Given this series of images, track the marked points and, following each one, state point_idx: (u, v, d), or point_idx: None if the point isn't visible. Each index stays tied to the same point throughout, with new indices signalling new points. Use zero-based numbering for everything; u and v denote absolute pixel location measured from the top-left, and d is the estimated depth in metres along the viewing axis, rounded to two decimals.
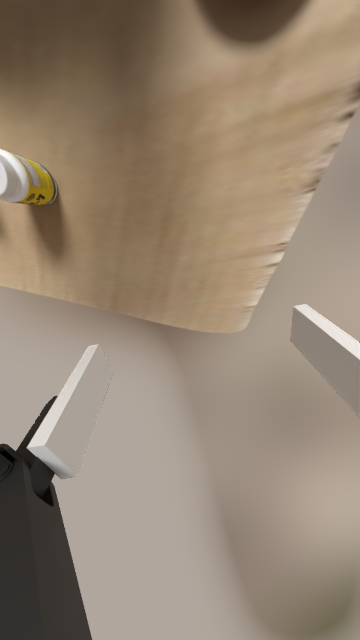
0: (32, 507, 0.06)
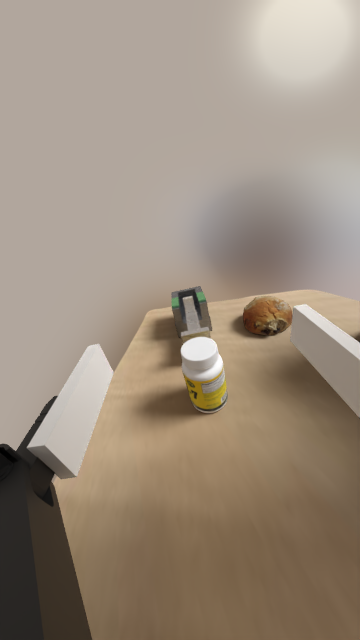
0: (32, 507, 0.06)
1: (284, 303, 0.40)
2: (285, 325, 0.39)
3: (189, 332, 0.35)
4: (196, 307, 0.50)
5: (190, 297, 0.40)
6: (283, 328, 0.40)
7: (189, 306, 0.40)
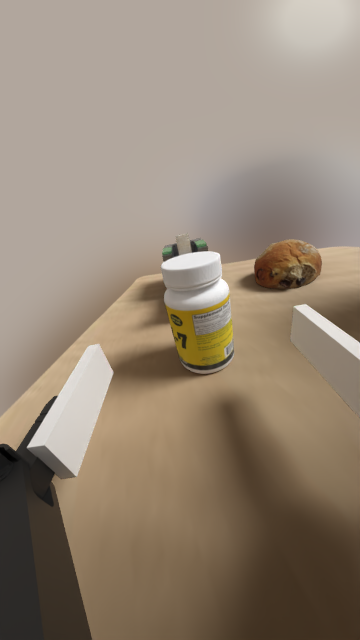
0: (32, 507, 0.06)
1: (311, 246, 0.30)
2: (312, 274, 0.29)
3: None
4: None
5: (185, 234, 0.30)
6: (309, 278, 0.29)
7: (184, 246, 0.30)
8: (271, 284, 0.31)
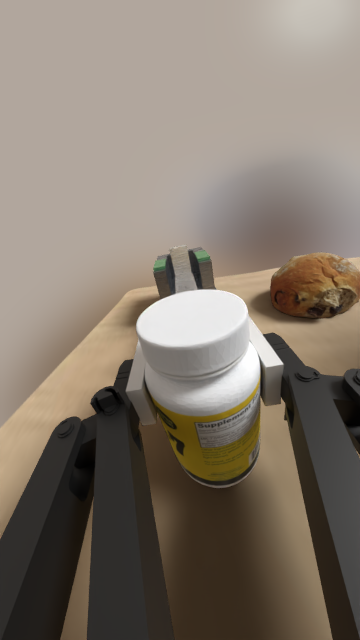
0: (131, 448, 0.07)
1: (349, 261, 0.23)
2: (352, 300, 0.22)
3: None
4: (194, 278, 0.33)
5: (183, 246, 0.22)
6: (348, 305, 0.22)
7: (181, 262, 0.23)
8: (295, 312, 0.23)
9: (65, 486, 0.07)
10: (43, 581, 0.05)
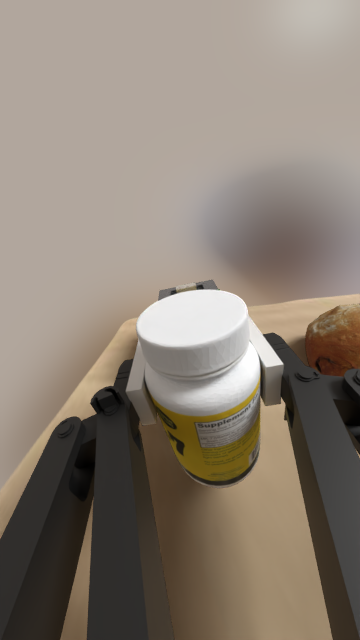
0: (131, 448, 0.07)
1: None
2: None
3: None
4: None
5: (191, 285, 0.20)
6: None
7: None
8: None
9: (65, 486, 0.07)
10: (43, 581, 0.05)
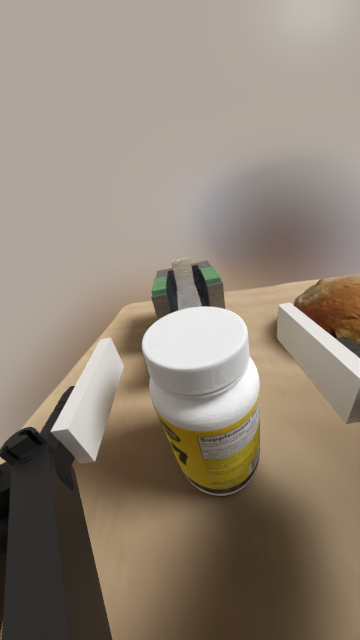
0: (55, 489, 0.07)
1: None
2: None
3: None
4: (200, 297, 0.28)
5: (185, 258, 0.21)
6: None
7: (184, 275, 0.22)
8: None
9: None
10: None
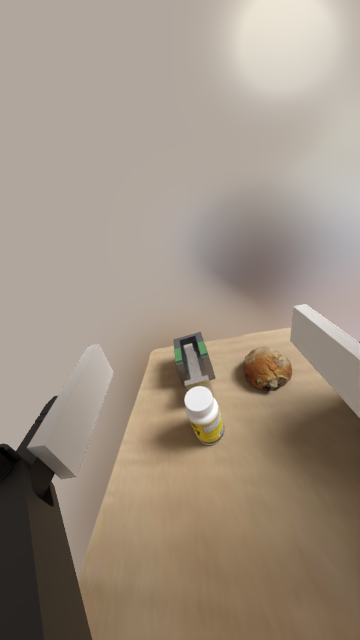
0: (32, 507, 0.06)
1: (283, 358, 0.41)
2: (285, 381, 0.41)
3: (191, 381, 0.40)
4: (198, 353, 0.52)
5: (190, 345, 0.45)
6: (284, 383, 0.41)
7: (190, 352, 0.46)
8: (257, 386, 0.42)
9: None
10: None
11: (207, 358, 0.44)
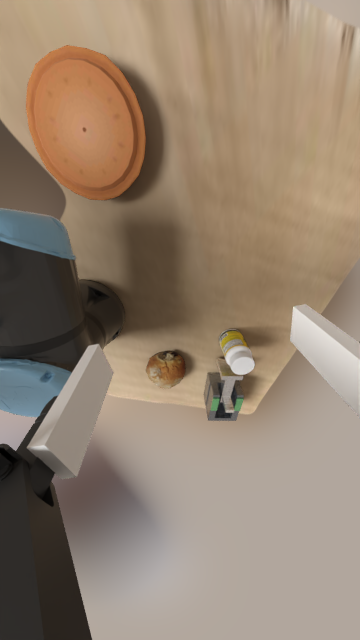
0: (32, 507, 0.06)
1: (153, 373, 0.47)
2: (158, 355, 0.49)
3: (236, 378, 0.46)
4: None
5: (227, 410, 0.47)
6: (160, 354, 0.49)
7: (228, 403, 0.48)
8: (180, 356, 0.50)
9: None
10: None
11: (214, 393, 0.48)
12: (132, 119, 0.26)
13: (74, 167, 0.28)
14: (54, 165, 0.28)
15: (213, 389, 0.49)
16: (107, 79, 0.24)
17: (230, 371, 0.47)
